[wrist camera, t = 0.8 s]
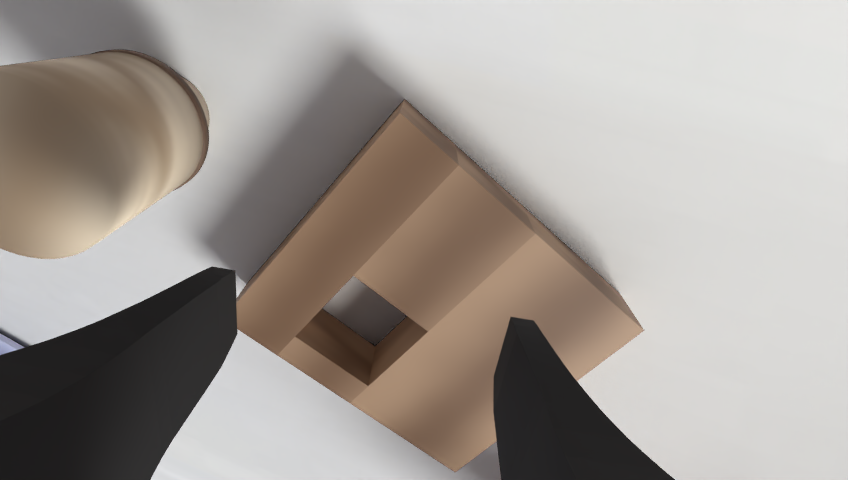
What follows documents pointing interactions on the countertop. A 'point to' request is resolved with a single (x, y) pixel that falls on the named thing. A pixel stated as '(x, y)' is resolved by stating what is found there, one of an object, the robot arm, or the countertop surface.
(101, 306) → the countertop surface
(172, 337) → the robot arm
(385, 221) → the board
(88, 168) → the peg
